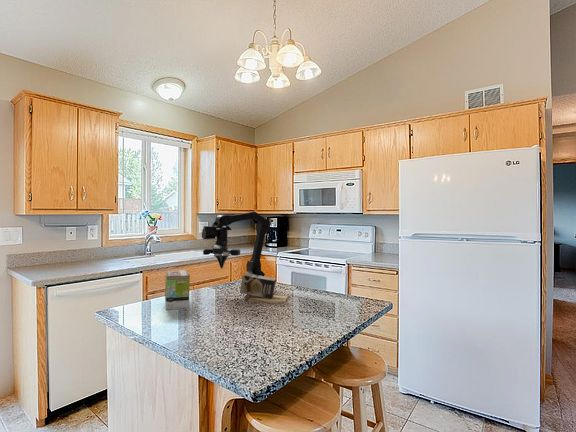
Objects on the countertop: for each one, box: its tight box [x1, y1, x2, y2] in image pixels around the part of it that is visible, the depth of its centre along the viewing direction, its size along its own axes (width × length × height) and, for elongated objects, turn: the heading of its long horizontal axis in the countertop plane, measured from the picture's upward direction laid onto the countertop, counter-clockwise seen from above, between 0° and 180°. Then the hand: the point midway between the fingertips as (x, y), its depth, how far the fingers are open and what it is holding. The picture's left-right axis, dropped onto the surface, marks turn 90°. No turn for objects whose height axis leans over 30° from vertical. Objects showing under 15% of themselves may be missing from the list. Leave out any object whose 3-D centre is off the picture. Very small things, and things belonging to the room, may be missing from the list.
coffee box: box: [239, 272, 277, 299], centre depth 164 cm, size 9×6×16 cm
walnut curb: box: [244, 294, 252, 302], centre depth 165 cm, size 14×1×2 cm, turn 172°
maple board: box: [247, 294, 289, 304], centre depth 163 cm, size 13×18×1 cm
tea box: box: [164, 269, 191, 310], centre depth 151 cm, size 15×10×15 cm
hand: (221, 268), depth 175 cm, fingers closed
